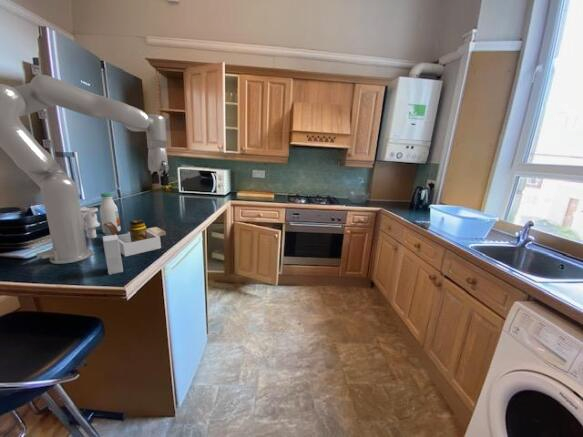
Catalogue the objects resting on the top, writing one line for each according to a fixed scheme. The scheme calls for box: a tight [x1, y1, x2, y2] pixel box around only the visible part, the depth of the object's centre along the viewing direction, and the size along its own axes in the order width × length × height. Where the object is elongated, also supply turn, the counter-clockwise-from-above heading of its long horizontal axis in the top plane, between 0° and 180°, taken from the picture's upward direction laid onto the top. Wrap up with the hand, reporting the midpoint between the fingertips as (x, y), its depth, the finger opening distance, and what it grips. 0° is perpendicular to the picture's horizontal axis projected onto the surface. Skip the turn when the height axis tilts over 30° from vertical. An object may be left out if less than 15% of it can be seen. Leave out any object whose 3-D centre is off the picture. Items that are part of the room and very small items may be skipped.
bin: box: [117, 230, 162, 257], centre depth 108 cm, size 14×15×5 cm
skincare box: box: [102, 235, 124, 276], centre depth 86 cm, size 6×4×12 cm
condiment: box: [129, 219, 147, 242], centre depth 108 cm, size 7×8×12 cm
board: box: [126, 226, 167, 237], centre depth 126 cm, size 14×11×2 cm
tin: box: [104, 222, 120, 236], centre depth 115 cm, size 15×3×8 cm, turn 47°
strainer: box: [80, 206, 101, 239], centre depth 119 cm, size 7×7×15 cm
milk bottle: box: [99, 192, 122, 234], centre depth 128 cm, size 8×8×20 cm
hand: (160, 184), depth 114 cm, fingers open, 9 cm apart
